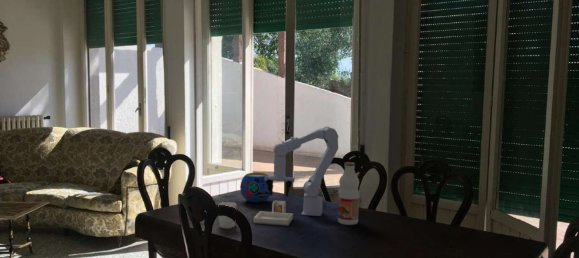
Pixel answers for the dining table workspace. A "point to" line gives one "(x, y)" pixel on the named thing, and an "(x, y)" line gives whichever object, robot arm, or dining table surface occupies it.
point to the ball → (278, 210)
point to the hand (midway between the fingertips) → (279, 195)
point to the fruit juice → (348, 196)
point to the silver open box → (279, 204)
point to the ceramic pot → (255, 187)
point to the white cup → (226, 221)
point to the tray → (273, 218)
